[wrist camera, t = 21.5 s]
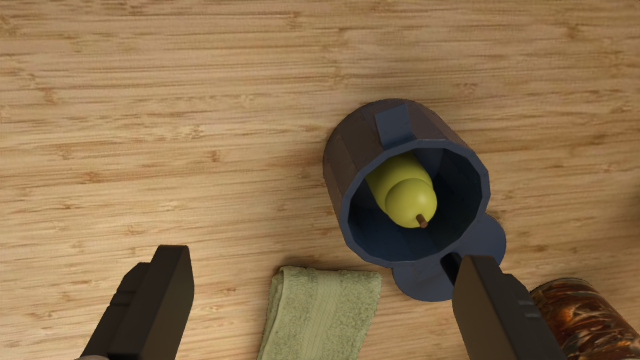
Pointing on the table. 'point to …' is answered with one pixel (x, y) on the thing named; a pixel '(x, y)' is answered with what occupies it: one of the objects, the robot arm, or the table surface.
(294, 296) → the washcloth
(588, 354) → the jar
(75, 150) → the table surface
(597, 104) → the table surface
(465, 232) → the pot
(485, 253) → the lid
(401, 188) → the pear
